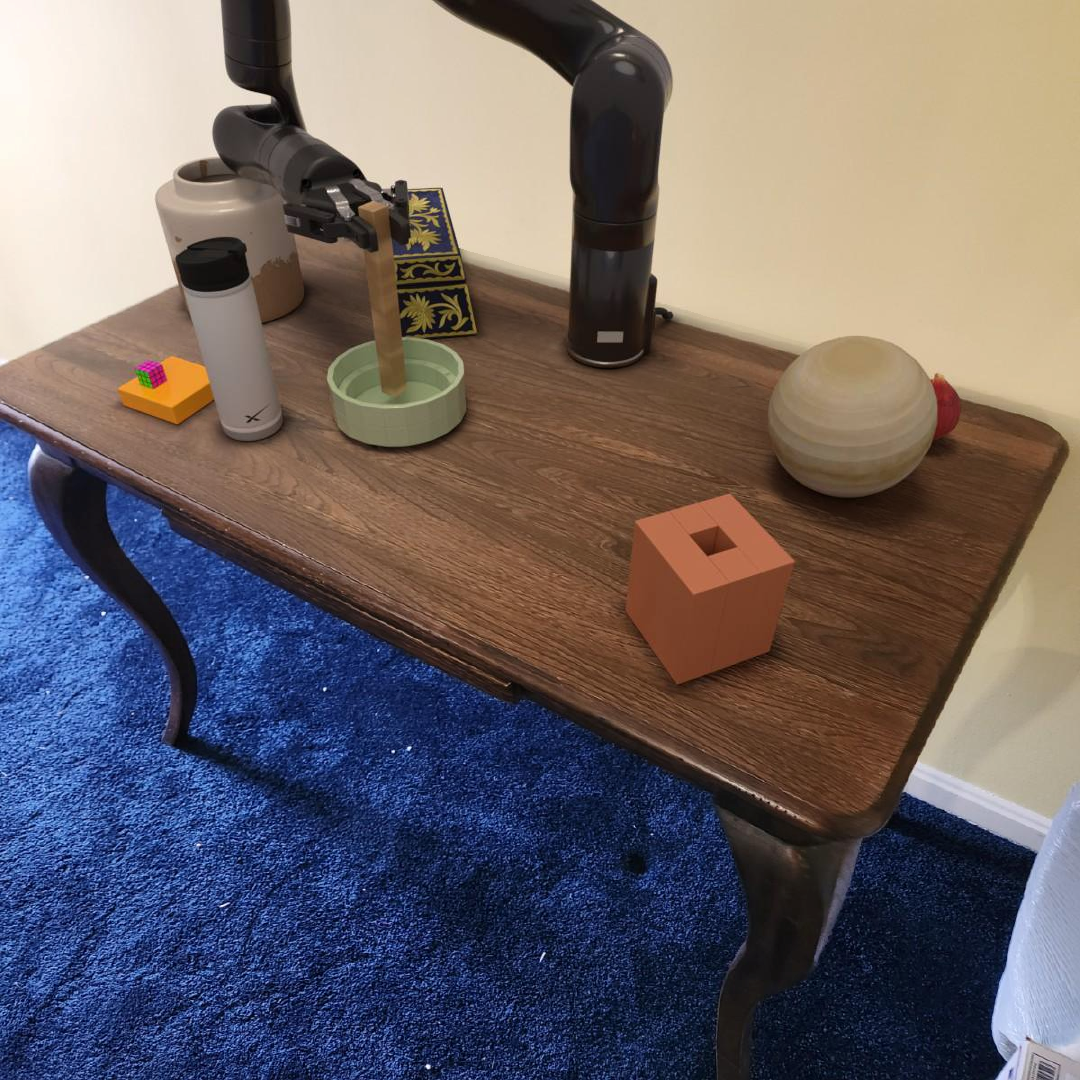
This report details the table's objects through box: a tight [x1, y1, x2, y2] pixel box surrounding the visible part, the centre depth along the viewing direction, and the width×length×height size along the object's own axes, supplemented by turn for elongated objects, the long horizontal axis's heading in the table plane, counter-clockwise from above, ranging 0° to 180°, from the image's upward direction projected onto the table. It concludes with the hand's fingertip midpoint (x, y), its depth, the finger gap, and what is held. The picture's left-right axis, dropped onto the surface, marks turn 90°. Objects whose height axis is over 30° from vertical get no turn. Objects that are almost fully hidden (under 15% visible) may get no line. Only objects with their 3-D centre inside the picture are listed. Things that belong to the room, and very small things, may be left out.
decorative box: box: [392, 187, 478, 340], centre depth 114 cm, size 11×30×9 cm, turn 10°
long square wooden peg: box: [358, 201, 407, 397], centre depth 86 cm, size 2×2×20 cm
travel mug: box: [175, 237, 284, 442], centre depth 85 cm, size 6×7×20 cm
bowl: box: [326, 337, 467, 448], centre depth 92 cm, size 14×14×6 cm
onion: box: [930, 372, 962, 441], centre depth 88 cm, size 6×6×8 cm
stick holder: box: [624, 493, 796, 686], centre depth 67 cm, size 9×9×10 cm
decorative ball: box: [766, 335, 937, 499], centre depth 81 cm, size 15×15×15 cm
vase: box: [154, 156, 305, 324], centre depth 108 cm, size 15×15×17 cm
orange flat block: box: [117, 355, 215, 425], centre depth 94 cm, size 8×8×4 cm
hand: (389, 237), depth 79 cm, fingers closed on long square wooden peg, 2 cm apart
